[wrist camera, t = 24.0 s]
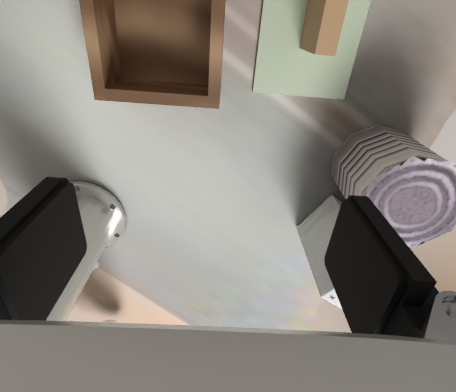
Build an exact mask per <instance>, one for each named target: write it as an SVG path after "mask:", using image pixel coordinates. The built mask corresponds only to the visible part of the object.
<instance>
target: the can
mask: <svg viewBox="0 0 456 392" xmlns="http://www.w3.org/2000/svg"><path fill="white" fill-rule="evenodd" d="M331 177H332V179H333V180H334V182H335V183H336V185H337V186H338V188H339V190H340V191H341V193H342V194H343V196H344V197H345V199H347V198H348V197H349V196H350V195H356V196H367V197H369V198H370V200H371V201H372V202H373V203H374V205H375V206H376V207H377V208H378V210H379V211H380V212H381V213H382V215H383V216H384V217H385V218H386V220H387V221H388V222H389V223H390V225H391V226H392V227H393V228H394V230H395V231H396V232H397V233H398V234H399V236H400V237H401V238H402V239H403V241H404V242H405V243H406V244H407V246H408V247H409V248H414V247H416V246H418V245H420V244H423V243H425V242H427V241H429V240H432V239H434V238H436V237H438V236H441V235H443V234H445V233H447V232H450V231H452V229H453V228H454V226H455V224H456V163H454V162H448V161H447V160H445V159H444V158H442V157H441V156H439V155H437V154H436V153H434V152H433V151H431V150H430V149H428V148H427V147H425V146H423V145H422V144H420V143H419V142H417V141H416V140H414V139H413V138H411V137H410V136H408V135H406V134H405V133H403V132H402V131H400V130H397V129H393V128H388V127H384V126H380V125H374V126H371V127H368V128H366V129H363V130H361V131H358V132H356V133H353V134H350V135H349V136H348V138H347V139H346V140H345V141H344V142H343V144H342V145H341V146H340V147H339V149H338V150H337V151H336V152H335V153H334V155H333V161H332V172H331Z"/></svg>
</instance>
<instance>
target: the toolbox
mask: <svg viewBox="0 0 456 392" xmlns="http://www.w3.org/2000/svg"><path fill="white" fill-rule="evenodd" d="M79 1H80V8H81V14H82V21H83V27H84V33H85V40H86V46H87V53H88V59H89V66H90V72H91V79H92V85H93V92H94V98H95V100H105V101H119V102H133V103H147V104H161V105H175V106H189V107H203V108H217V109H219V101H220V87H221V69H222V51H223V34H224V16H225V0H79Z"/></svg>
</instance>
